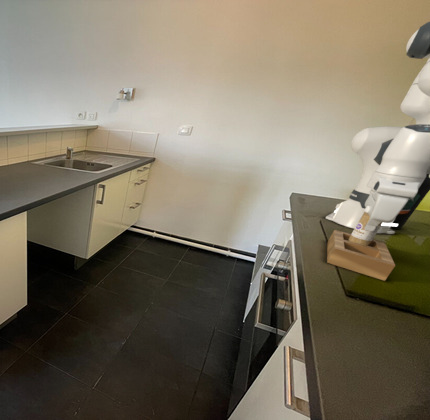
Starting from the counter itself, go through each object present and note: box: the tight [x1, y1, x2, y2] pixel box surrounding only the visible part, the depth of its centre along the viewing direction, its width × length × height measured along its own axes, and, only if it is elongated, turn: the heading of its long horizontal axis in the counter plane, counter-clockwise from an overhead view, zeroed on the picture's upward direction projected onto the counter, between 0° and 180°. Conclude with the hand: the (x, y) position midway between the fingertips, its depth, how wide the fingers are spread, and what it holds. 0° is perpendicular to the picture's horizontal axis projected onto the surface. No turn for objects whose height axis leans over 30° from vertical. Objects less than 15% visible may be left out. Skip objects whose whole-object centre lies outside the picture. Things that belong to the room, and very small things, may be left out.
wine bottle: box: [390, 174, 430, 230], centre depth 97 cm, size 8×8×30 cm
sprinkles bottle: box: [348, 206, 383, 246], centre depth 75 cm, size 5×5×13 cm
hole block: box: [326, 229, 396, 282], centre depth 75 cm, size 20×11×5 cm, turn 133°
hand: (367, 227), depth 75 cm, fingers closed on sprinkles bottle, 4 cm apart
